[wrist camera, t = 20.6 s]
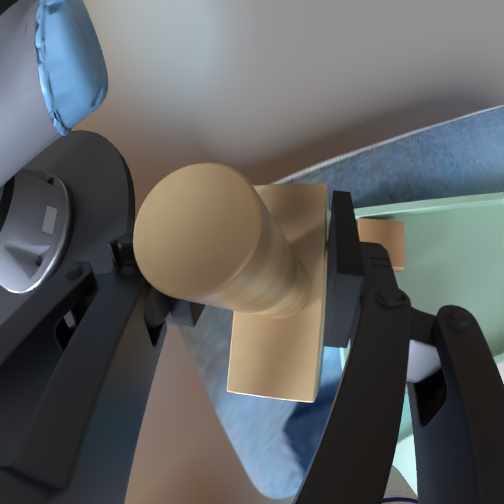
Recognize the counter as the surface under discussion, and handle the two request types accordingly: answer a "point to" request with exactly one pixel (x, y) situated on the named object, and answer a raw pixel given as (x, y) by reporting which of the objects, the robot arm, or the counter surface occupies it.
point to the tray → (452, 258)
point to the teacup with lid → (398, 490)
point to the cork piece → (385, 238)
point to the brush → (245, 269)
